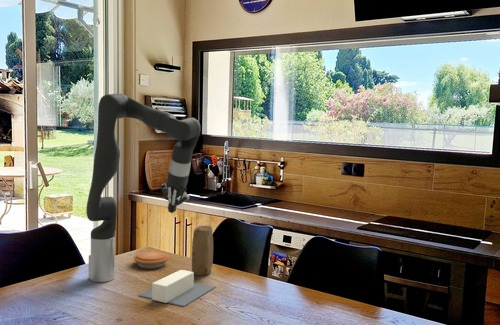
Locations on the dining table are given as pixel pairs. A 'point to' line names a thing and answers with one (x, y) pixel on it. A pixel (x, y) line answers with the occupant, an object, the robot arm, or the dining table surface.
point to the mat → (185, 294)
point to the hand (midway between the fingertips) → (171, 211)
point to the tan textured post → (202, 250)
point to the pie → (151, 259)
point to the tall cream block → (172, 286)
